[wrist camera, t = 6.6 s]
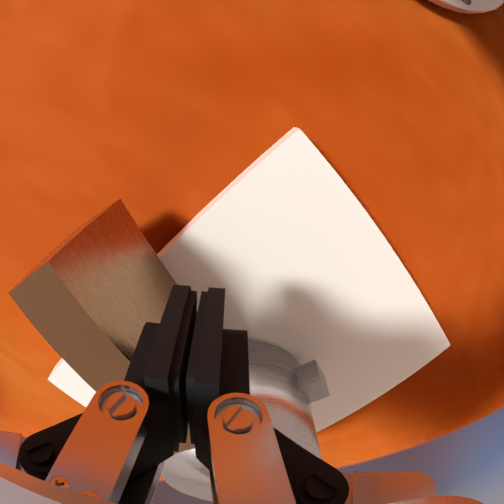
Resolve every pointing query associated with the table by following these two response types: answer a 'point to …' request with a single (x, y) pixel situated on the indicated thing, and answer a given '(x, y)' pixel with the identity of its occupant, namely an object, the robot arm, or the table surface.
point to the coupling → (131, 325)
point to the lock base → (303, 279)
